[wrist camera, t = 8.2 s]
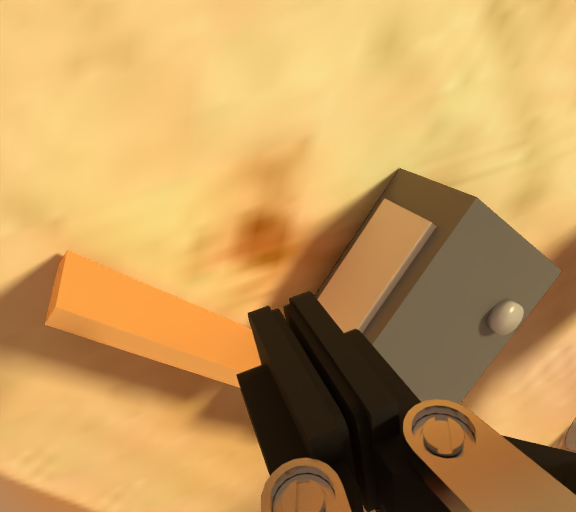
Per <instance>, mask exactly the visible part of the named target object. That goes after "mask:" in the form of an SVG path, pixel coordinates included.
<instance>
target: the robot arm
mask: <svg viewBox="0 0 576 512" xmlns="http://www.w3.org/2000/svg"><path fill="white" fill-rule="evenodd" d="M289 302H290V304H289V305H286V306H284V313H285V317H286V320H285V318H284V317H283V315H282V313H281V312H280V310H279V309H275V310H272V311H271V309H270V307H269V306H266V307H263V308H261V309H258V310H255V311H252V312H249V313H248V318H249V322H250V325H251V329H252V332H253V336H254V340H255V343H256V347H257V351H258V354H259V358H260V361H261V365H260V366H257V367H254V368H252V369H249V370H247V371H244V372H242V373H239V374H236V376H237V379H238V383H239V386H240V389H241V392H242V395H243V398H244V401H245V404H246V407H247V410H248V413H249V416H250V419H251V422H252V425H253V428H254V431H255V434H256V437H257V440H258V443H259V446H260V448H261V451H262V454H263V457H264V460H265V463H266V466H267V469H268V472H269V475H270V477H269V479H268V480H267V482H266V483H265V486H264V489H263V492H262V495H261V512H364V511H363V506H364V508H365V509H366V511H367V512H370V511H372V510H374V509H375V510H376V512H576V453H573V452H569V451H565V450H561V449H557V448H552V447H548V446H544V445H540V444H536V443H531V442H527V441H523V440H519V439H515V438H510V437H506V436H502V435H500V434H499V433H498V432H496V431H495V430H494V429H493V428H491V427H490V426H489V425H488V424H486V423H485V422H484V421H483V420H481V419H480V418H479V417H478V416H476V415H475V414H474V413H473V412H471V411H470V410H468V409H467V408H465V407H463V406H462V405H460V404H457V403H454V402H451V401H449V400H439V399H434V400H427V401H423V402H421V401H420V400H419V399H418V398H417V396H416V395H415V394H414V393H413V392H412V391H411V389H410V388H409V387H408V386H407V385H406V384H405V382H404V381H403V380H402V379H401V378H400V377H399V375H398V374H397V373H396V372H395V371H394V370H393V368H392V367H391V366H390V365H389V364H388V363H387V361H386V360H385V359H384V358H383V357H382V356H381V354H380V353H379V352H378V351H377V350H376V349H375V348H374V346H373V345H372V344H371V343H370V342H369V341H368V339H367V338H366V337H365V336H364V335H363V334H362V333H361V332H360V331H359V330H358V329H353V330H350V331H348V332H345V333H343V331H342V330H341V329H340V328H339V326H338V325H337V324H336V322H335V321H334V320H333V319H332V317H331V316H330V315H329V314H328V312H327V311H326V310H325V309H324V307H323V306H322V305H321V304H320V302H319V301H318V300H317V299H316V297H315V296H314V295H313V293H312V292H310V291H309V292H306V293H303V294H300V295H297V296H294V297H292V298H290V299H289Z"/></svg>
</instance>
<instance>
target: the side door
mask: <svg viewBox="0 0 576 512" xmlns="http://www.w3.org/2000/svg"><path fill="white" fill-rule="evenodd" d="M44 325H47V326H50V327H53V328H57V329H60V330H63V331H66V332H69V333H72V334H75V335H78V336H81V337H84V338H87V339H91V340H94V341H97V342H100V343H103V344H106V345H109V346H112V347H115V348H118V349H121V350H125V351H128V352H131V353H134V354H137V355H140V356H143V357H146V358H149V359H152V360H155V361H158V362H162V363H165V364H168V365H171V366H174V367H177V368H180V369H183V370H186V371H189V372H192V373H196V374H199V375H202V376H205V377H208V378H211V379H214V380H217V381H220V382H223V383H226V384H230V385H233V386H236V387H239V388H240V386H239V383H238V379H237V376H236V374H239V373H242V372H244V371H247V370H249V369H252V368H254V367H257V366H260V365H261V361H260V358H259V354H258V351H257V347H256V343H255V340H254V336H253V332H252V329H250V328H248V327H245V326H243V325H241V324H238V323H236V322H234V321H231V320H229V319H227V318H224V317H222V316H220V315H217V314H215V313H213V312H210V311H208V310H206V309H203V308H201V307H199V306H196V305H194V304H192V303H189V302H187V301H185V300H182V299H180V298H178V297H175V296H173V295H170V294H168V293H166V292H163V291H161V290H159V289H156V288H154V287H152V286H149V285H147V284H145V283H142V282H140V281H138V280H135V279H133V278H131V277H128V276H126V275H124V274H121V273H119V272H117V271H114V270H112V269H110V268H107V267H105V266H103V265H100V264H98V263H96V262H93V261H91V260H89V259H86V258H84V257H82V256H79V255H77V254H74V253H72V252H70V251H67V252H66V253H65V255H64V257H63V258H62V260H61V261H60V263H59V265H58V269H57V273H56V277H55V282H54V286H53V290H52V294H51V299H50V303H49V307H48V311H47V316H46V320H45V324H44Z"/></svg>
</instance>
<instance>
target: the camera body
mask: <svg viewBox="0 0 576 512" xmlns="http://www.w3.org/2000/svg"><path fill="white" fill-rule="evenodd" d="M561 272H562V270H560V269H559V268H558V267H557V266H556V265H555V264H554V263H552V262H551V261H550V260H549V259H548V258H547V257H545V256H544V255H543V254H542V253H541V252H540V251H538V250H537V249H536V248H535V247H534V246H533V245H531V244H530V243H529V242H528V241H527V240H526V239H525V238H523V237H522V236H521V235H520V234H519V233H518V232H516V231H515V230H514V229H513V228H512V227H511V226H509V225H508V224H507V223H506V222H505V221H504V220H503V219H501V218H500V217H499V216H498V215H497V214H496V213H494V212H493V211H492V210H491V209H490V208H489V207H487V206H486V205H485V204H484V203H483V202H482V201H480V200H479V199H478V198H477V197H475V196H472V195H469V194H467V193H464V192H461V191H459V190H456V189H454V188H451V187H448V186H446V185H443V184H440V183H438V182H435V181H432V180H430V179H427V178H425V177H422V176H419V175H417V174H414V173H411V172H409V171H406V170H403V169H401V168H400V169H399V170H398V172H397V173H396V175H395V176H394V178H393V179H392V181H391V182H390V184H389V185H388V187H387V188H386V190H385V191H384V193H383V194H382V196H381V197H380V199H379V200H378V202H377V203H376V205H375V206H374V208H373V209H372V211H371V212H370V214H369V215H368V217H367V218H366V220H365V221H364V223H363V224H362V226H361V227H360V229H359V230H358V232H357V233H356V235H355V237H354V238H353V240H352V241H351V243H350V244H349V246H348V247H347V249H346V250H345V252H344V253H343V255H342V256H341V258H340V259H339V261H338V262H337V264H336V265H335V267H334V268H333V270H332V271H331V273H330V274H329V276H328V277H327V279H326V280H325V282H324V283H323V285H322V286H321V288H320V289H319V291H318V292H317V294H316V295H315V297H316V299H317V300H318V301H319V302H320V304H321V305H322V306H323V307H324V309H325V310H326V311H327V312H328V314H329V315H330V316H331V317H332V319H333V320H334V321H335V322H336V324H337V325H338V326H339V328H340V329H341V330H342V331H343V333H345V332H348V331H350V330H353V329H358V330H359V331H360V332H361V333H362V334H363V335H364V336H365V337H366V338H367V339H368V341H369V342H370V343H371V344H372V345H373V346H374V348H375V349H376V350H377V351H378V352H379V353H380V354H381V356H382V357H383V358H384V359H385V360H386V361H387V363H388V364H389V365H390V366H391V367H392V368H393V370H394V371H395V372H396V373H397V374H398V375H399V377H400V378H401V379H402V380H403V381H404V382H405V384H406V385H407V386H408V387H409V388H410V389H411V391H412V392H413V393H414V394H415V395H416V396H417V398H418V399H419V400H420V401H421V402H423V401H427V400H434V399H439V400H449V401H451V402H454V403H457V404H459V403H460V402H461V401H462V399H463V398H464V397H465V396H466V394H467V393H468V392H469V390H470V389H471V388H472V387H473V385H474V384H475V383H476V381H477V380H478V379H479V378H480V376H481V375H482V374H483V372H484V371H485V370H486V369H487V367H488V366H489V365H490V363H491V362H492V361H493V360H494V358H495V357H496V356H497V354H498V353H499V352H500V351H501V349H502V348H503V347H504V345H505V344H506V343H507V342H508V340H509V339H510V338H511V336H512V335H513V334H514V333H515V331H516V330H517V329H518V327H519V326H520V325H521V324H522V322H523V321H524V320H525V318H526V317H527V316H528V315H529V313H530V312H531V311H532V309H533V308H534V307H535V306H536V304H537V303H538V302H539V300H540V299H541V298H542V297H543V295H544V294H545V293H546V291H547V290H548V289H549V288H550V286H551V285H552V284H553V282H554V281H555V280H556V279H557V277H558V276H559V275H560V273H561Z"/></svg>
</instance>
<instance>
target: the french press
mask: <svg viewBox="0 0 576 512" xmlns="http://www.w3.org/2000/svg"><path fill="white" fill-rule="evenodd" d="M565 444H566V446H567V448H568V449H571V450H576V418H575V420H574V421H573V423H572V425H571V427H570V428H569V430H568V432H567V436H566V441H565Z"/></svg>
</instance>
